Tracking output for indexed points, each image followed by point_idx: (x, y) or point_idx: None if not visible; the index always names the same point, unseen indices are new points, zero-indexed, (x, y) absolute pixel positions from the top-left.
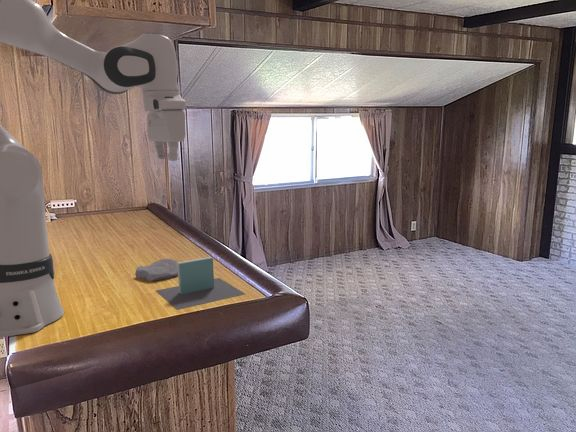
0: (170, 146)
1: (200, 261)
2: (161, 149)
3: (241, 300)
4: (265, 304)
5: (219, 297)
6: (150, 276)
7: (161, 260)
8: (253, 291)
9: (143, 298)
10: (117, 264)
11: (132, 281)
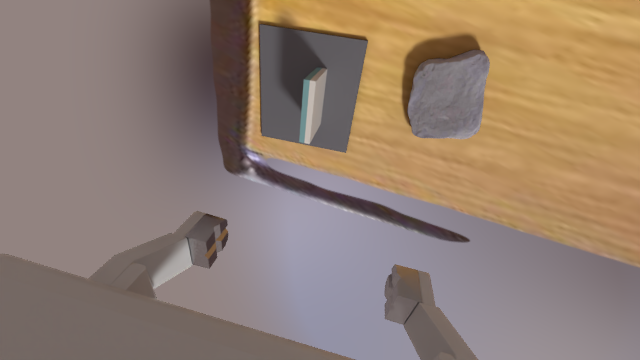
0: (114, 259)
1: (301, 119)
2: (418, 334)
3: (253, 121)
4: (225, 132)
5: (269, 102)
6: (426, 63)
7: (470, 118)
8: (273, 151)
9: (358, 6)
10: (634, 67)
11: (471, 35)
